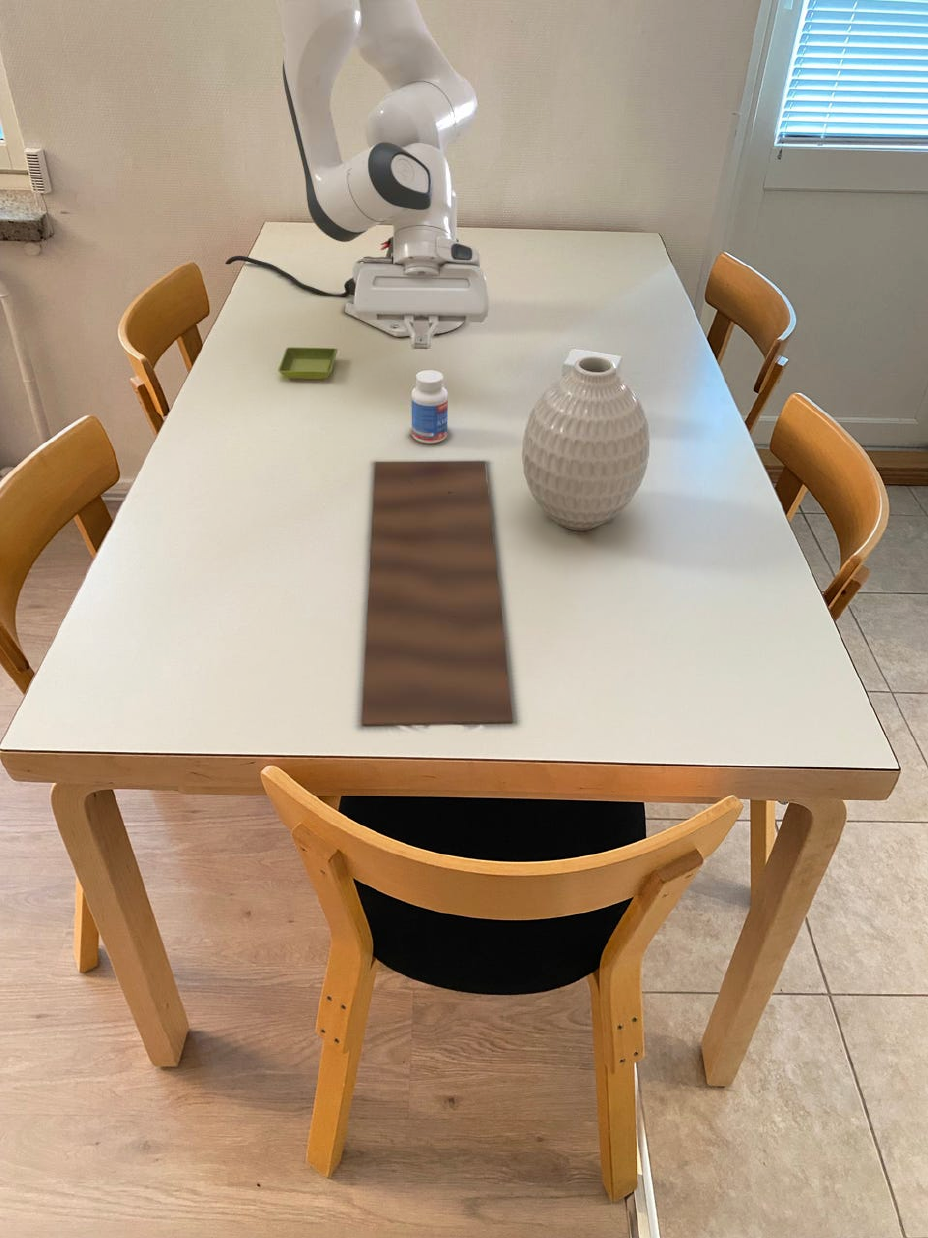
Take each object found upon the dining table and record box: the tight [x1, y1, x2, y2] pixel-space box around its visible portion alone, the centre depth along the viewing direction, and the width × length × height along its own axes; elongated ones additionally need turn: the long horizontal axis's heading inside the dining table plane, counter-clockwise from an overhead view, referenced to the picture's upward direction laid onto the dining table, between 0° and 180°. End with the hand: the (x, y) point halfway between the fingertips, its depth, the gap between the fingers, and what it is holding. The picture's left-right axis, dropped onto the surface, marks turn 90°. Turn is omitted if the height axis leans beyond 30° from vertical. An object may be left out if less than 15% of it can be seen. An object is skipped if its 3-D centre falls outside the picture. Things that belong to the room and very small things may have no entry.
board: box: [361, 460, 514, 726], centre depth 121 cm, size 51×16×1 cm, turn 2°
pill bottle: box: [410, 369, 449, 444], centre depth 143 cm, size 6×5×10 cm
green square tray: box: [277, 346, 338, 380], centre depth 161 cm, size 9×9×2 cm
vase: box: [521, 356, 651, 531], centre depth 124 cm, size 16×16×22 cm
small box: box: [561, 348, 623, 378], centre depth 147 cm, size 8×6×10 cm
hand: (420, 347), depth 145 cm, fingers closed
